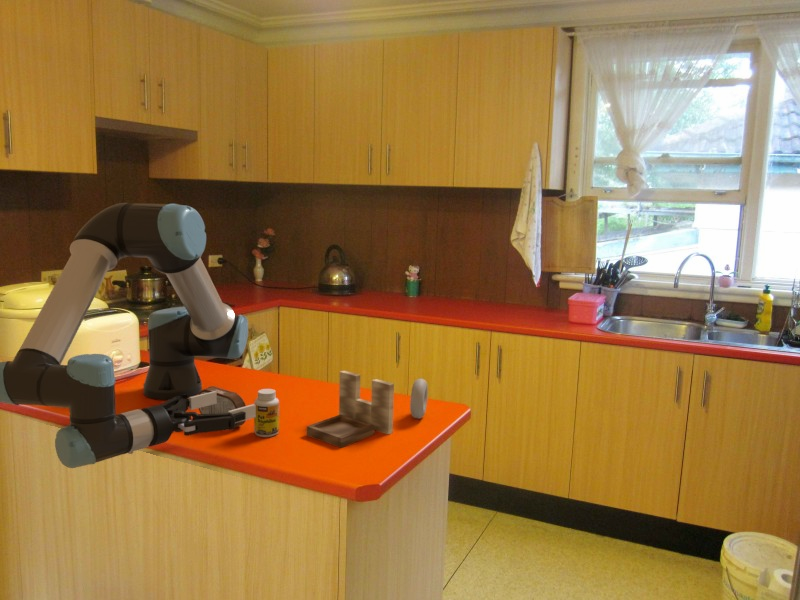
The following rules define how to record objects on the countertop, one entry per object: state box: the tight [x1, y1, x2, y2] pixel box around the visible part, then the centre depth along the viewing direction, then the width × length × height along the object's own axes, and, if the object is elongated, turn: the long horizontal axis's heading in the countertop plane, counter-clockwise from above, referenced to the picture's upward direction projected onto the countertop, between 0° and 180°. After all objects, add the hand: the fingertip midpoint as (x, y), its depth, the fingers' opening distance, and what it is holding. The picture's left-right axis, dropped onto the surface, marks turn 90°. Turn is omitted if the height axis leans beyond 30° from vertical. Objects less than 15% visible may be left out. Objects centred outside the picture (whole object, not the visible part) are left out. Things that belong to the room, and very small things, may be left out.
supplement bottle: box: [253, 388, 280, 438], centre depth 150 cm, size 6×6×10 cm
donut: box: [409, 378, 429, 419], centre depth 164 cm, size 10×4×10 cm, turn 170°
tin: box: [197, 385, 247, 428], centre depth 156 cm, size 15×3×8 cm, turn 56°
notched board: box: [338, 370, 395, 435], centre depth 157 cm, size 16×2×12 cm, turn 51°
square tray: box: [306, 414, 375, 448], centre depth 152 cm, size 11×11×2 cm
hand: (234, 403), depth 143 cm, fingers open, 13 cm apart
